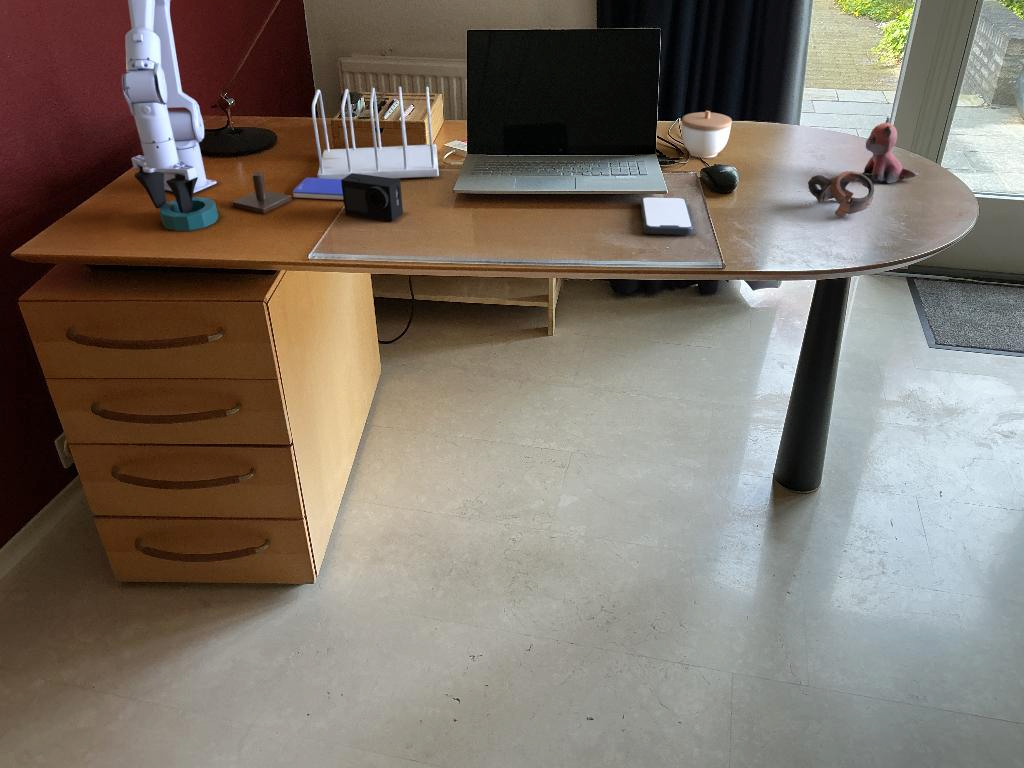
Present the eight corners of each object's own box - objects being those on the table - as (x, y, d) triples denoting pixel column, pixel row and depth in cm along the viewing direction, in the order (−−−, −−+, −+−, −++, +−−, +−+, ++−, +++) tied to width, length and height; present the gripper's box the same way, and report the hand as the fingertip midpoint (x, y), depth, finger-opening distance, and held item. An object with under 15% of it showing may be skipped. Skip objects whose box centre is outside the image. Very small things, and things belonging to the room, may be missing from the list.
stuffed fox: (920, 187, 173) (935, 128, 166) (862, 185, 175) (875, 126, 168) (911, 175, 179) (926, 117, 173) (855, 172, 181) (868, 115, 174)
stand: (232, 206, 168) (227, 177, 164) (261, 193, 174) (256, 164, 170) (263, 213, 164) (258, 183, 161) (291, 200, 170) (287, 170, 167)
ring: (151, 224, 160) (148, 210, 159) (191, 207, 168) (188, 193, 166) (189, 234, 156) (186, 220, 155) (228, 216, 164) (225, 202, 162)
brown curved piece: (863, 203, 167) (883, 175, 160) (854, 239, 163) (873, 212, 156) (804, 182, 169) (821, 153, 161) (793, 217, 165) (809, 189, 157)
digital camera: (341, 217, 163) (336, 181, 159) (355, 207, 167) (351, 172, 163) (389, 224, 160) (386, 188, 156) (403, 214, 164) (400, 178, 160)
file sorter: (436, 152, 194) (432, 81, 186) (439, 178, 180) (434, 103, 171) (324, 157, 192) (315, 85, 184) (318, 184, 178) (307, 107, 169)
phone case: (639, 204, 167) (644, 235, 154) (640, 196, 167) (644, 227, 153) (685, 205, 167) (693, 236, 153) (686, 197, 166) (694, 228, 152)
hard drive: (292, 190, 170) (352, 193, 169) (307, 176, 177) (364, 179, 175) (293, 198, 171) (353, 201, 170) (308, 183, 178) (365, 186, 176)
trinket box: (669, 153, 192) (672, 111, 187) (698, 143, 198) (702, 101, 193) (708, 164, 186) (713, 121, 181) (737, 153, 192) (742, 111, 187)
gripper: (111, 139, 155) (130, 210, 163) (168, 150, 150) (185, 223, 157) (142, 128, 161) (159, 198, 168) (198, 139, 155) (213, 211, 162)
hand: (173, 209), depth 163 cm, fingers open, 6 cm apart
